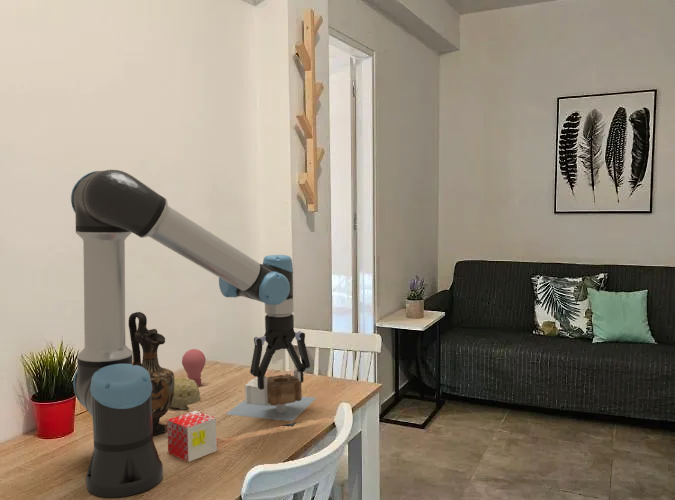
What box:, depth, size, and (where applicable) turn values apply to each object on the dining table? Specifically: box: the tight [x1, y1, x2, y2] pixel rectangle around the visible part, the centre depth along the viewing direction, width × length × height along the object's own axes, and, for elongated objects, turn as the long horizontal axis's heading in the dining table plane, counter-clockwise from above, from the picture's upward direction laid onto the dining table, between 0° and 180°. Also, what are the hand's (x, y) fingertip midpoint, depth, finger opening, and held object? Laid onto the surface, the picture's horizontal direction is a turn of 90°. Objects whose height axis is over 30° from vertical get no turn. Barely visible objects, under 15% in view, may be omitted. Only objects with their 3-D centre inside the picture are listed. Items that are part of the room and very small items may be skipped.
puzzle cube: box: [166, 410, 218, 463], centre depth 144 cm, size 8×8×8 cm
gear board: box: [225, 396, 317, 428], centre depth 170 cm, size 19×19×8 cm
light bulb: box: [181, 348, 207, 387], centre depth 192 cm, size 7×7×12 cm
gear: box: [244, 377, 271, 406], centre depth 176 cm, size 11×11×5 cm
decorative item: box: [169, 376, 201, 410], centre depth 176 cm, size 10×10×10 cm
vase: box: [128, 311, 176, 436], centre depth 156 cm, size 12×12×30 cm
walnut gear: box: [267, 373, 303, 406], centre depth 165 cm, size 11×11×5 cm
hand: (281, 397), depth 165 cm, fingers closed on walnut gear, 9 cm apart
